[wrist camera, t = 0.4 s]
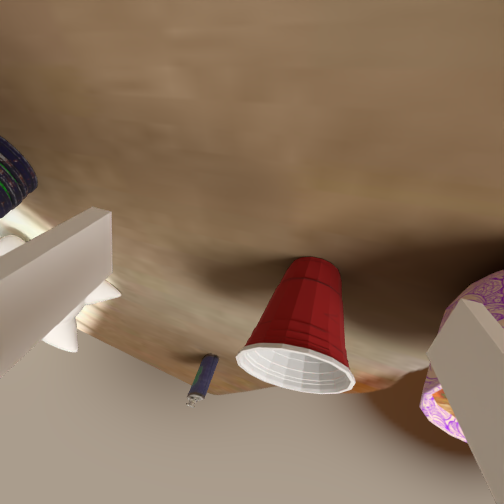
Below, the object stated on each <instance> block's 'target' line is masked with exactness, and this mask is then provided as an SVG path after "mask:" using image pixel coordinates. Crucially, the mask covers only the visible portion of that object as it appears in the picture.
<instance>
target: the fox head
mask: <svg viewBox="0 0 504 504" xmlns="http://www.w3.org/2000/svg"><path fill="white" fill-rule="evenodd" d="M24 243H26V242H24V241H23V240H22V239H21V238H19V237H17V236H15V235H8V236H5V237H2V238H1V239H0V256H2V255H4V254H6V253H8V252H9V251H11V250H13V249H15V248H17V247H19V246H21V245H22V244H24ZM119 296H121V293H120V292H119V291H118V290H117V289H116V288H115V287H114V286H113V285H111V284H110V283H109V282H108V281H106V280H104V281H103V282H102V283H101V284H100V285H99V286H98V287H97V288H96V289H95V290H94V291H93V292H92V293H91V294H89V295H88V296H87V297H86V298H85V299H84V300H83V301H82V302H81V303H80V304H79V305H78V306H77V307H76V308H75V309H74V310H72V311H71V312H70V313H69V314H68V315H67V316H66V317H65V318H64V319H63V320H62V321H61V322H60V323H59V324H58V325H56V326H55V327H54V328H53V329H52V330H51V331H50V332H49V333H48V334H47V335H46V336H45V337H44V338H43V339H42V340H43V341H44V342H46V343H47V344H50V345H52V346H54V347H57V348H59V349H62V350H65V351H69V352H77V351H78V340H77V324H76V319H75V317H76V316H77V315H78V314H79V312H80V311H81V310H82V308H83V307H84V306H85V305H90V304H95V303H98V302H102V301H106V300H110V299H113V298H117V297H119Z"/></svg>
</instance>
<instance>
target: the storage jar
mask: <svg viewBox="0 0 504 504" xmlns="http://www.w3.org/2000/svg"><path fill="white" fill-rule="evenodd" d="M37 183H38V181H37V177H36V175H35V173H34V171H33V169H32V167H31V166H30V164H29V163H28V162H27V160H26V159H25V158H24V157H23V156H22V155H21V154H20V152H19V151H18V150H17V149H15V148H14V147H13V146H12V145H11V144H10V143H9V142H8V141H6V140H5V139H4V138H2V137H1V136H0V218H2V217H4V216H5V215H6V214H7V213H8V212H9V211H10V210H12V209H14V208H15V207H17V206H18V205H19V204H20V203H21V202H22V200H23V199H24V198H25V197H26V196H27V194H28V193H31V192H32V191H34V190H35V189H36V188H37Z"/></svg>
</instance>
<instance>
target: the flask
mask: <svg viewBox="0 0 504 504" xmlns="http://www.w3.org/2000/svg"><path fill="white" fill-rule="evenodd" d="M218 360H219V357H218V356H217V355H215V354H208V355H206V356H204V358H203V360H202V362H201V364H200V367H199V370H198V372H197V374H196V377H195V379H194V382H193V384H192V386H191V389H190V391H189V393H188V396H187V399H188V400H189V404H187V403H186V405H187V406H190V407H193V408H195V407H194V404H195V403H196V402H197V400H199V401H200V400H203V399H204V398H205V395H206V393H207V390H208V387H209V384H210V382H211V379H212V377H213V374H214V371H215V368H216V365H217V363H218Z"/></svg>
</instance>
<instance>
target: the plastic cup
mask: <svg viewBox="0 0 504 504" xmlns="http://www.w3.org/2000/svg"><path fill="white" fill-rule="evenodd" d="M236 359H237V363H238V365H239V366H240V367H241V368H242V369H244V370H245V371H246V372H247V373H248V374H250V375H252V376H254V377H256V378H258V379H260V380H262V381H265V382H267V383H270V384H273V385H276V386H279V387H282V388H287V389H291V390H295V391H300V392H308V393H317V394H334V393H342V392H345V391H348V390H351V389H352V387H353V386H354V384H355V378H354V376H353V375H352V373H351V371H350V368H349V364H348V360H347V354H346V349H345V336H344V316H343V301H342V283H341V278H340V273H339V271H338V269H337V268H336V267H335V266H334V265H333V264H332V263H330V262H328V261H325V260H323V259H320V258H315V257H302V258H299V259H297V260H294V262H293V263H292V264H291V265H290V267H289V268H288V269H287V271H286V273H285V275H284V277H283V279H282V280H281V282H280V284H279V285H278V286H277V288H276V290H275V292H274V294H273V296H272V298H271V299H270V301H269V303H268V305H267V307H266V309H265V311H264V313H263V315H262V317H261V319H260V321H259V323H258V324H257V326H256V328H255V329H254V330H253V333H252V335H251V337H250V338H249V339H248V341H247V343H246V345H245V346H244V347H243V348H242V349H241V350H240V351H239V352H238V354H237V356H236Z"/></svg>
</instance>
